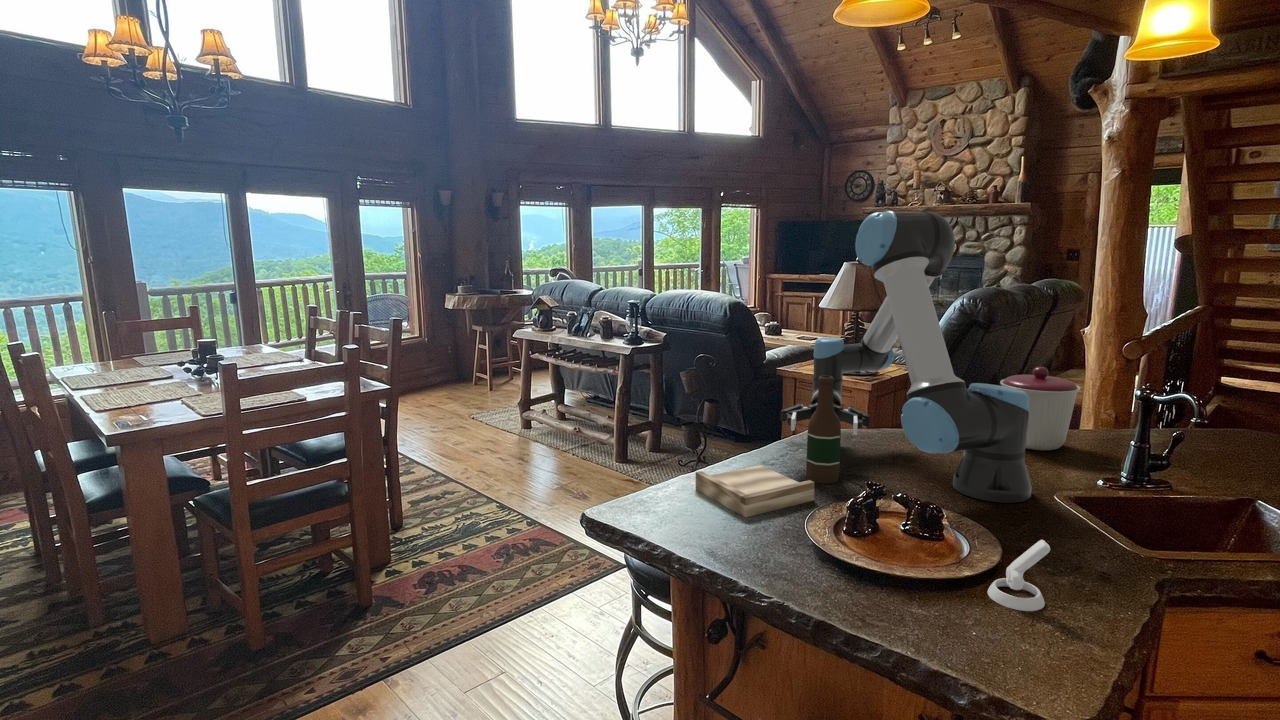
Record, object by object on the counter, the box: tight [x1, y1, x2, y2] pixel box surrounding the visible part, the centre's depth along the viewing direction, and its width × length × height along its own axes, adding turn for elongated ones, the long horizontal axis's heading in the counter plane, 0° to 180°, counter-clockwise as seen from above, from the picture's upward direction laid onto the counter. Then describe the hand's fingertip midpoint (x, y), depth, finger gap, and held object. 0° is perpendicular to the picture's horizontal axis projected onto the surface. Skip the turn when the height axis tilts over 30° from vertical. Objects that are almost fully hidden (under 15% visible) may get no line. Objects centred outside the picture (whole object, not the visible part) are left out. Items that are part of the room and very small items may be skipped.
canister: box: [999, 366, 1081, 451], centre depth 177 cm, size 18×18×21 cm
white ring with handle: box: [987, 539, 1051, 612], centre depth 102 cm, size 8×12×7 cm
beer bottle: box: [805, 375, 842, 485], centre depth 153 cm, size 8×8×24 cm
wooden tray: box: [695, 464, 816, 518], centre depth 146 cm, size 18×18×4 cm
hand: (823, 426), depth 151 cm, fingers open, 13 cm apart
